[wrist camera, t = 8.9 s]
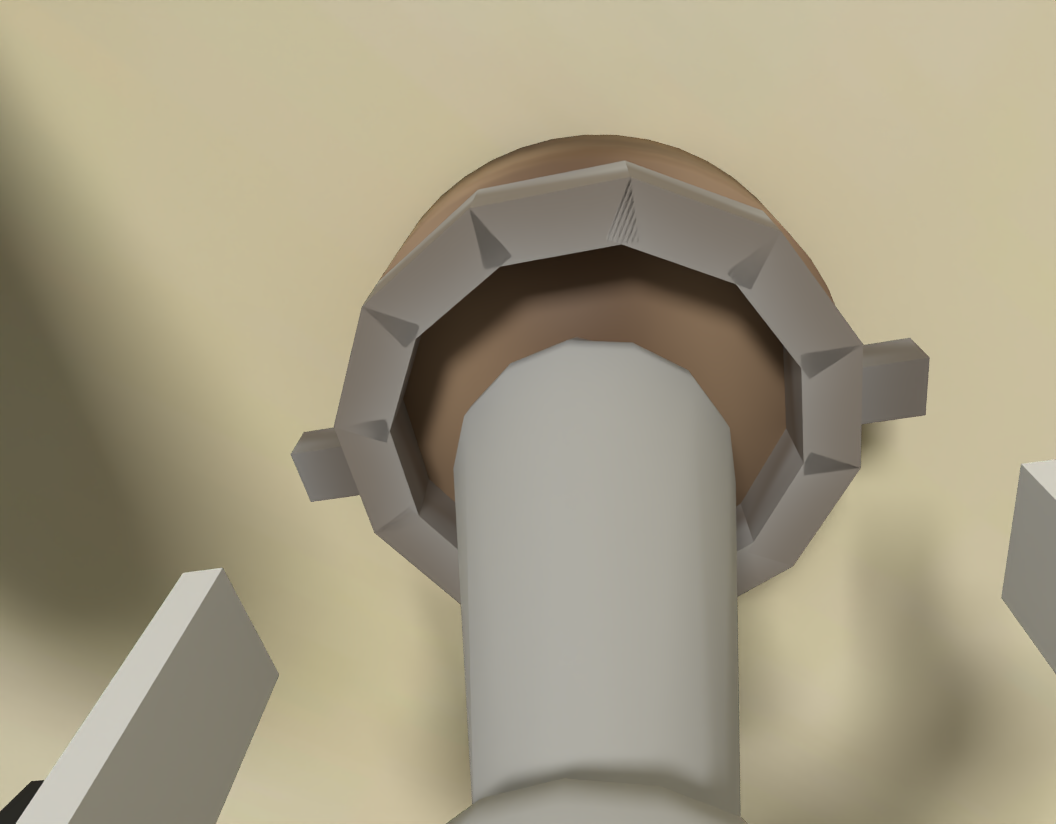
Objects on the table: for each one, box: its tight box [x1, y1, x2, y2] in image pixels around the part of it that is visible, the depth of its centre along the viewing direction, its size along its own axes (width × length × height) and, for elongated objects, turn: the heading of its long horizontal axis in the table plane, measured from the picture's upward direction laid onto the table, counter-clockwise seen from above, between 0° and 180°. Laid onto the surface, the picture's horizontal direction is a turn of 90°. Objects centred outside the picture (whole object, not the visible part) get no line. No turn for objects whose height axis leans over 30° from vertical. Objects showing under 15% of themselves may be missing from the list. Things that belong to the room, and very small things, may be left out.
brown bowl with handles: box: [291, 135, 929, 604], centre depth 18 cm, size 14×12×4 cm
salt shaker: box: [446, 337, 748, 824], centre depth 12 cm, size 6×6×13 cm
